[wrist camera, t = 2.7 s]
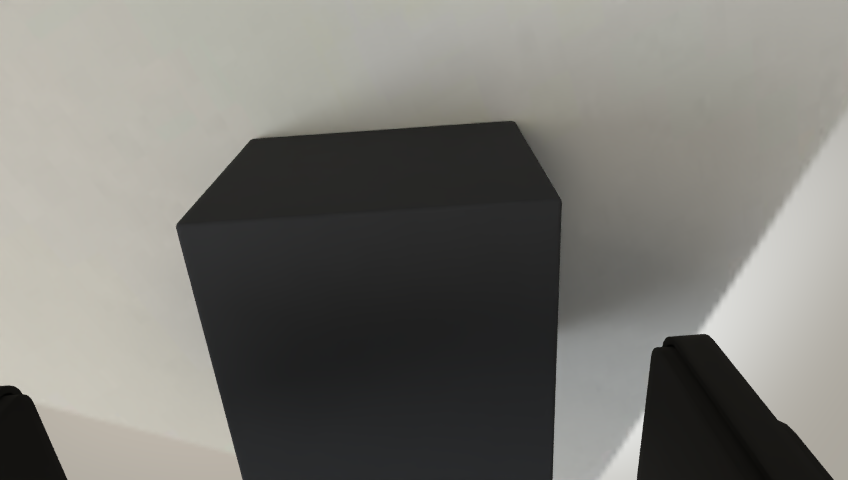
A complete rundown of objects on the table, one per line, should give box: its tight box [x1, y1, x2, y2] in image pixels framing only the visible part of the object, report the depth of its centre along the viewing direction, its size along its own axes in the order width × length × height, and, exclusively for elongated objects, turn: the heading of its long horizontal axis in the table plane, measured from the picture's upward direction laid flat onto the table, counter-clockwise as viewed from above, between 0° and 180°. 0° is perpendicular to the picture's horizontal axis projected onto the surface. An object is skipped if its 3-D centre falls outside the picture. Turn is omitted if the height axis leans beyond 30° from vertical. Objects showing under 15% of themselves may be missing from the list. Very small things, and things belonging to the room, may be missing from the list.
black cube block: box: [176, 121, 562, 480], centre depth 13 cm, size 6×6×5 cm
